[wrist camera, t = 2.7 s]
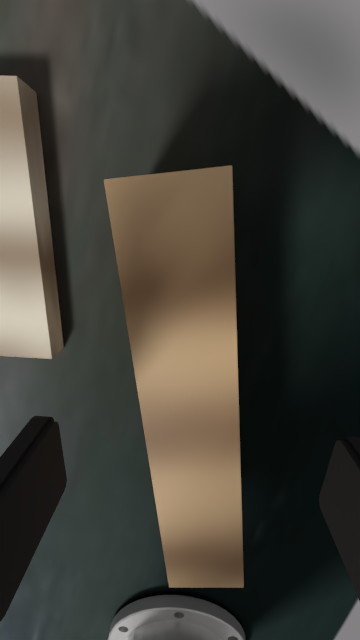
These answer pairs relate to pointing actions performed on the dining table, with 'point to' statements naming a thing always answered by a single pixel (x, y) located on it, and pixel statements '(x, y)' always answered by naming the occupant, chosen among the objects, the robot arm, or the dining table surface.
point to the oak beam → (185, 361)
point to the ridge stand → (25, 232)
